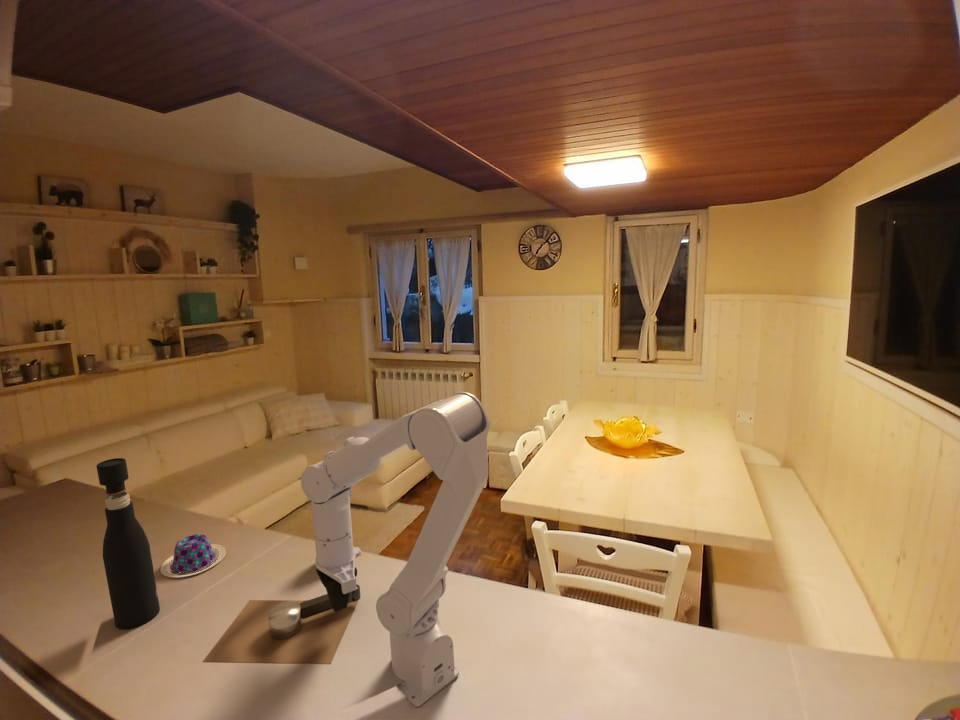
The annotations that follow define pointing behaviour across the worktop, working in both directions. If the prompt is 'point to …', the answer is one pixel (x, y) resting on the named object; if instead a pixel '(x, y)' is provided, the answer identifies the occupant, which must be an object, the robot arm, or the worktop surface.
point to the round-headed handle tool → (299, 613)
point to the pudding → (192, 555)
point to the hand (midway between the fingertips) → (339, 607)
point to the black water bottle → (126, 553)
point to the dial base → (256, 645)
